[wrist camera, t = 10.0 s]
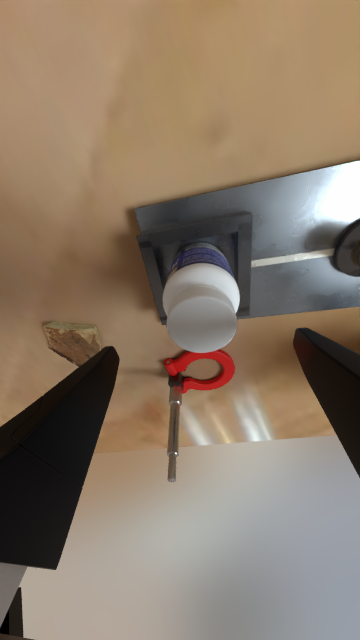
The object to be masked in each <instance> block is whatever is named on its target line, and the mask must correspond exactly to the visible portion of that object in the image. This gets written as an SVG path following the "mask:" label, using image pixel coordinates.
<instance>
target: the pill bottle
mask: <svg viewBox="0 0 360 640" xmlns="http://www.w3.org/2000/svg"><path fill="white" fill-rule="evenodd" d="M239 302H240V294H239V289H238V286H237V283H236V281H235V278H234V276H233V274H232V271H231V269H230V266H229V264H228V262H227V260H226V258H225V256H224V254H223V253H222V252H221V251H220V250H219V249H218V248H217V247H215V246H213V245H211V244H208V243H194V244H190V245H188V246H186V247H184V248H183V249H182V250H180V251H179V253H178V254H177V255H176V257H175V258H174V261H173V263H172V266H171V269H170V272H169V275H168V278H167V282H166V285H165V288H164V293H163V307H164V311H165V313H166V315H167V331H168V334H169V336H170V338H171V339H172V340H173V342H174V343H176V344H177V345H178V346H179V347H181V348H183V349H185V350H187V351H191V352H196V353H207V352H212V351H216V350H218V349H220V348H222V347H224V346H225V345H227V344H228V343H229V342H230V341H231V340H232V338H233V337H234V335H235V333H236V330H237V317H236V312H237V310H238V307H239Z"/></svg>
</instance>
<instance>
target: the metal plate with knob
mask: <svg viewBox="0 0 360 640" xmlns="http://www.w3.org/2000/svg"><path fill="white" fill-rule="evenodd" d="M134 210H135V214H136V218H137V221H138V225H139V229H140V232H141V233H140V234H138V235H137V240H138V243H139V246H140V250H141V253H142V257H143V260H144V264H145V267H146V271H147V274H148V278H149V281H150V284H151V288H152V291H153V295H154V298H155V302H156V305H157V309H158V312H159V315H160V319H161V322H162V325H166V327H167V315H166V313H165V311H164V307H163V293H164V288H165V285H166V282H167V278H168V275H169V272H170V269H171V266H172V263H173V261H174V258H175V257H176V255H177V254H178V253H179V251H180V250H182V249H183V248H184V247H186V246H188V245H190V244H194V243H208V244H211V245H213V246H215V247H217V248H218V249H219V250H220V251H221V252H222V253H223V254H224V256H225V258H226V260H227V262H228V264H229V266H230V269H231V271H232V274H233V276H234V278H235V281H236V283H237V286H238V289H239V294H240V302H239V307H238V310H237V312H236V317H237V319H244V318H254V317H263V316H273V315H283V314H292V313H302V312H311V311H321V310H330V309H340V308H349V307H359V306H360V160H358V161H353V162H349V163H344V164H339V165H335V166H330V167H325V168H321V169H316V170H312V171H307V172H302V173H298V174H293V175H288V176H284V177H279V178H274V179H270V180H265V181H260V182H256V183H251V184H246V185H242V186H237V187H233V188H228V189H223V190H219V191H214V192H209V193H205V194H200V195H195V196H191V197H186V198H181V199H177V200H172V201H168V202H163V203H158V204H154V205H149V206H144V207H140V208H136V209H134Z"/></svg>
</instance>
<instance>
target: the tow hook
mask: <svg viewBox="0 0 360 640" xmlns="http://www.w3.org/2000/svg"><path fill="white" fill-rule="evenodd" d="M204 358H207V359H213V360H216V361H218V362H219V363H220V364H221V365H222V366H223V371H222V373H221V374H220V375H219V376H218V377H216V378H214V379H212V380H207V381H200V380H195V379H193V378H190V377H189V378H183V376H182V374H181V373H180V372H182V371H185V370H186V368H187V366H188V365H189V364H190V363H191V362H193V361H195V360H198V359H204ZM164 366H165V368H166V369H167V371H168V373H169V381H168V385H169V386H170V395H169V404H170V406H171V407H170V421H169V435H168V450H167V455H168V456H169V465H168V481H169V482H174V481H176V457H177V456H178V453H179V451H178V450H179V415H180V406H181V404H182V394H183V393H186V392H187V390H188V389H195V390H212V389H216V388H219V387H221V386H223V385H225V384H226V383H227V382H229V381H230V379H231V378H232V377H233V375H234V371H235V367H234V363H233V361H232V358H231V357H230V356H229V355H228V354H227V353H225V352H224V351H222V350H220V349H218V350H216V351H212V352H207V353H196V352H191V351H187V352H185V353H184V354H182V355H181V356H180V357H179V358H178V359H175V360H172V359H171V358H168V359H166V360H165V361H164Z"/></svg>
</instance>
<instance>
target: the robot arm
mask: <svg viewBox="0 0 360 640" xmlns="http://www.w3.org/2000/svg"><path fill="white" fill-rule="evenodd" d="M293 346H294V349H295V351H296V354H297V357H298V359H299V362H300V364H301V367H302V369H303V372H304V374H305V376H306V378H307V380H308V382H309V384H310V386H311V388H312V390H313V392H314V394H315V395H316V397H317V399H318V401H319V403H320V405H321V407H322V408H323V410H324V412H325V414H326V416H327V418H328V420H329V421H330V423H331V425H332V427H333V429H334V431H335V433H336V434H337V436H338V438H339V440H340V442H341V443H342V445H343V447H344V449H345V451H346V453H347V455H348V456H349V459H350V461H351V462H352V464H353V466H354V468H355V470H356V472H357V474H358V475H359V477H360V354H358V353H356V352H354V351H352V350H350V349H348V348H346V347H344V346H342V345H340V344H338V343H336V342H334V341H332V340H330V339H328V338H327V337H325V336H323V335H321V334H319V333H317V332H315V331H313V330H311V329H309V328H298V329H296V331H295V335H294V340H293ZM119 360H120V359H119V356H118V354H117V352H116V350H115V348H114V347H113V346H107V347H104V348H103V349H102V350H100V351H99V352H98V353H97V354H95V355H94V356H93V357H91V358H90V359H89V360H88V361H86V362H85V363H84V364H82V365H81V366H80V367H79V368H77V369H76V370H75V371H74V372H72V373H71V374H70V375H68V376H67V377H66V378H65V379H63V380H62V381H61V382H59V383H58V384H57V385H56V386H54V387H53V388H52V389H50V390H49V391H48V392H47V393H45V394H44V396H41V397H40V398H39V399H38V400H36V401H35V402H34V403H32V404H31V405H30V406H28V407H27V408H26V409H25V410H23V411H22V412H20V413H19V414H18V415H16V416H15V417H13V418H12V419H11V420H9V421H8V422H7V423H5V424H4V425H2V426H1V427H0V640H33V639H27V638H23V619H22V597H21V587H19V584H20V582H21V580H22V577H23V575H24V573H25V571H26V569H27V567H35V568H44V569H52V570H56V568H57V566H58V563H59V560H60V557H61V554H62V551H63V548H64V545H65V542H66V538H67V535H68V532H69V529H70V526H71V523H72V520H73V516H74V513H75V510H76V507H77V504H78V501H79V497H80V494H81V491H82V486H83V484H84V481H85V478H86V475H87V472H88V468H89V465H90V462H91V459H92V456H93V453H94V449H95V446H96V443H97V440H98V437H99V434H100V430H101V427H102V424H103V421H104V418H105V415H106V411H107V408H108V405H109V402H110V399H111V396H112V392H113V389H114V385H115V381H116V376H117V371H118V366H119Z"/></svg>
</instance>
